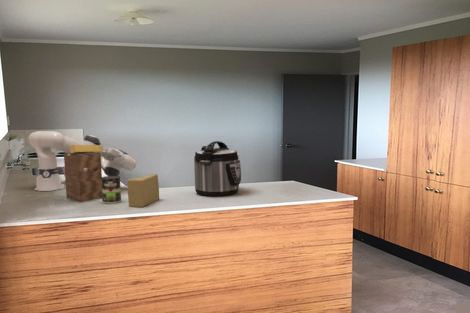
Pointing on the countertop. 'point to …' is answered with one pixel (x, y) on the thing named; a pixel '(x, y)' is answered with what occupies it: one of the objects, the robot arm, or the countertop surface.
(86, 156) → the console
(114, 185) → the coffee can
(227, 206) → the countertop surface
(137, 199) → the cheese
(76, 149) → the lever bar
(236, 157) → the pressure cooker
